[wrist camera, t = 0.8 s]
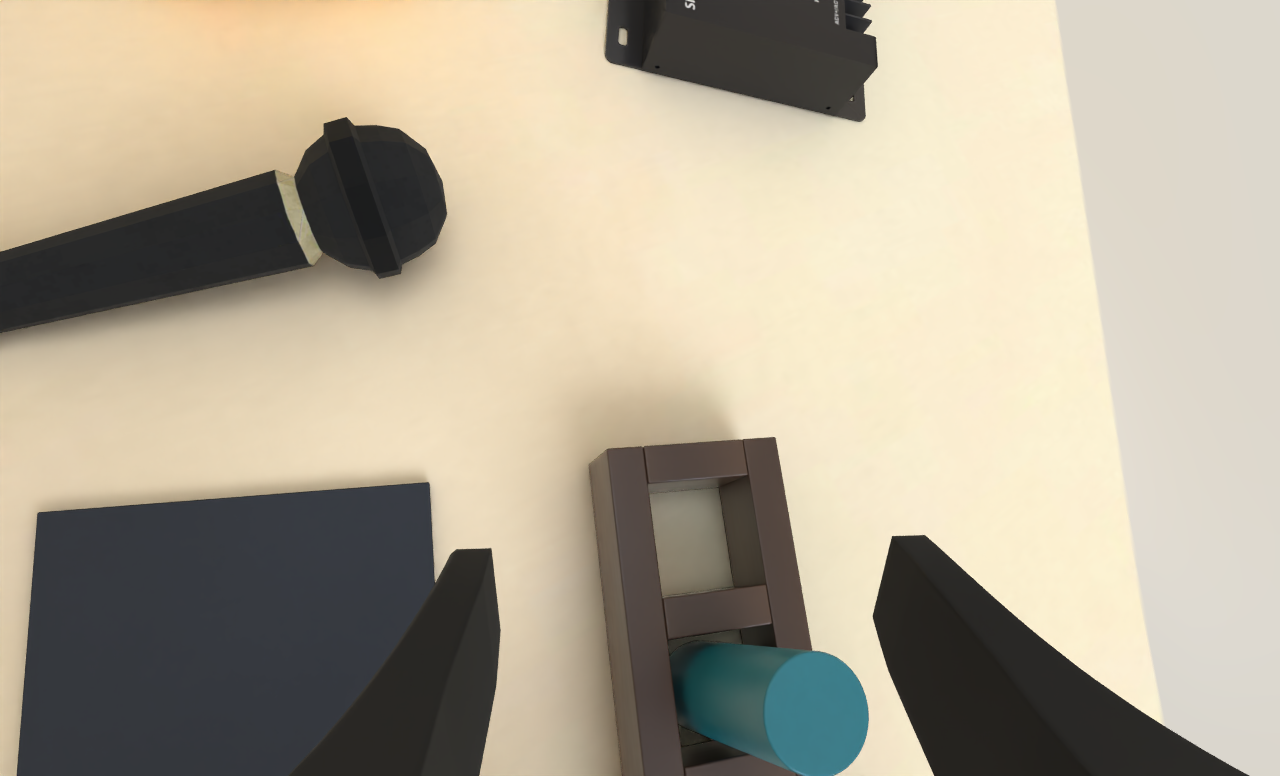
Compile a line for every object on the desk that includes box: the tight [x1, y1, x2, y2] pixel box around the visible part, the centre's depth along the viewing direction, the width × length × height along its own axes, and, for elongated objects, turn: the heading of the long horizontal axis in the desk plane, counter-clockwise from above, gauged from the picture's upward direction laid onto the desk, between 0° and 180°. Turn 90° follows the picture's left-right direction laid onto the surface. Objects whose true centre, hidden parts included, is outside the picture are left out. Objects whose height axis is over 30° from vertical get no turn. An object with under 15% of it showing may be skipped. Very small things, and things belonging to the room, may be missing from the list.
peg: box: [670, 641, 869, 776], centre depth 24 cm, size 3×3×9 cm
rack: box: [589, 437, 812, 776], centre depth 27 cm, size 7×18×3 cm, turn 7°
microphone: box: [0, 117, 447, 333], centre depth 26 cm, size 6×6×20 cm
